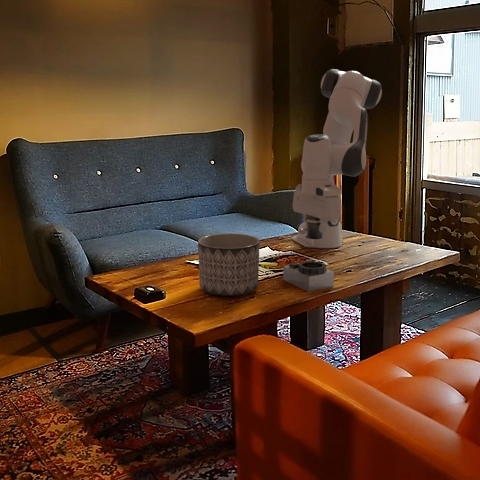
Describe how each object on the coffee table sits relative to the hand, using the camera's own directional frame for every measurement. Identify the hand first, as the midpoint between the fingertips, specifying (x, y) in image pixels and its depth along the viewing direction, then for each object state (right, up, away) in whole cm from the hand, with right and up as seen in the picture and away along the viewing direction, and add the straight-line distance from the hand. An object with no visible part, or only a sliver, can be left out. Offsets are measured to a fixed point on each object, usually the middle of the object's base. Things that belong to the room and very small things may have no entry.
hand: (314, 230), depth 198 cm
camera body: (-2, -17, +6) cm, 19 cm away
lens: (0, -2, +1) cm, 2 cm away
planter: (-27, -19, -1) cm, 34 cm away
